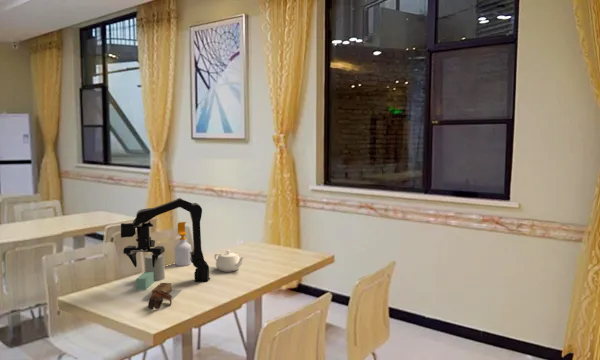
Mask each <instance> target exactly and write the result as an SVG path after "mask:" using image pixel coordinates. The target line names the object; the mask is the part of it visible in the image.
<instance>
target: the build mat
mask: <svg viewBox="0 0 600 360" xmlns="http://www.w3.org/2000/svg"><path fill="white" fill-rule="evenodd" d="M171 290H172V291H171V292H170V293H169V295H171V296H172V298H171V301H173V300H174V299H175V298H176V297H177V296H178V295H179V294H180V293H181V292H182V290H179V289H171ZM151 296H152V290H151V291H150V292H148V294H146V295H145V296H144V297H142V299H141V301H149V300H150V298H151ZM155 300H156V299H155ZM163 302H170V301H169V300H167V299H163Z"/></svg>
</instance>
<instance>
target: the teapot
mask: <svg viewBox="0 0 600 360" xmlns="http://www.w3.org/2000/svg"><path fill="white" fill-rule="evenodd" d="M214 259H215V261H216V262H215V266H216V269H218V270H219V271H220V272H224V273H228V272H229V273H230V272H235V271H237V270H238V269H240V267H241V266H242V264H243V260H244V259H245V257H244V256H241V257H240V256H239V253H237V252H234V251H231V250H230V249H226V250H225V251H224V252H221V253H215V254H214Z"/></svg>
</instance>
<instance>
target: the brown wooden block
mask: <svg viewBox="0 0 600 360" xmlns="http://www.w3.org/2000/svg"><path fill="white" fill-rule="evenodd" d="M157 290H160V291H163V292H165V293H167V287H157V286H155V287H154V288H153V289H152V290H151V291H152V295H153V294H154V293H156V292H157ZM162 298H163V297H162ZM155 299H156V298H155ZM163 299H164V298H163Z"/></svg>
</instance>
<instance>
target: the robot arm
mask: <svg viewBox="0 0 600 360" xmlns="http://www.w3.org/2000/svg"><path fill="white" fill-rule="evenodd" d="M178 208H180V209H183V210H185V211H187V212H189V214H190V218H191V223H192V224H191V225H192V226H191V227H192V229H191V230H192V245H193V248H192V251H191V252H190V255H191V258H190V260H191V262H192V263H191V264H192V265H193V267H194V268H195V269H194V270H195V271H194V275H193V276H194V283H208V282H209V281H210V280H211V277H210V266H209V264H208V262H207V261H206V260H205V258H204V253H203V250H202V237H201V236H202V234H201V220H202V214H203V208H202V207H201V205H200V204H199V203H197V202H193V203H192V202H189V201H187V200H185V199H183V198H180V197H179V198H176V199H173V200H172V201H168V202H166V203H163V204H160V205H157V206H154V207H150V208H149V207H148V208H147V207H146V208H143V209H140V210H137V212H136V217H135V219H134V220H133V221H132V222H129V223H127V222H121V223H120V238H121V239H123V238H133V237H134V236H136V235H137V237H136V239H135V241H136V242H137V246H136V245H127V246H125V247H124V248H123V255H126V257H128V258H129V259H130V261H131V263H132V264H133V266H134V267H135V268H136V267H138V265H137V264H138V263H137V262H138V261H137V253H138V252H139V253H151V254H153V255H152V265H153V268H154V267H155V264H156V261H157V258H158V256H159V255H160V254H164V253H165V247H164V246H163V245H162V246H161V245H160V246H159V245H156V246H155V244H156V240H155V239H152V236H150V233H151V232H150V227H151V228H152V227H154V223H152V222H151V220H152V219H153V218H155V217H157V216H159V215H162V214H165V213H167V212H170V211H173V210H175V209H178Z"/></svg>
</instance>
